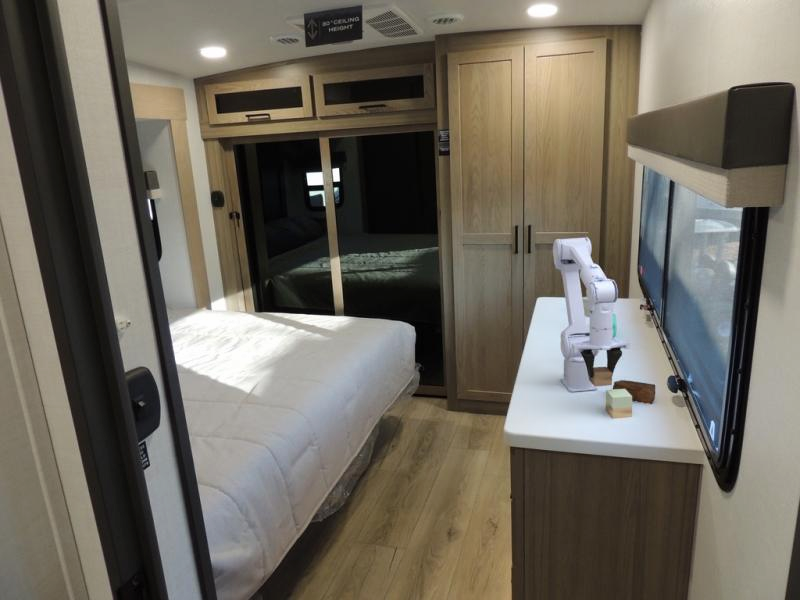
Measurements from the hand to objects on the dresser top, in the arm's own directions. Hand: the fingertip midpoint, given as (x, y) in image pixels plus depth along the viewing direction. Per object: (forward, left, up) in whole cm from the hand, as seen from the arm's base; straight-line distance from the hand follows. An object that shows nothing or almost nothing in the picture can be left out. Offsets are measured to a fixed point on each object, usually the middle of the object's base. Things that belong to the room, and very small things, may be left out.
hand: (600, 375), depth 155 cm
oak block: (+3, +4, -10) cm, 11 cm away
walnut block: (0, 0, -2) cm, 2 cm away
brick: (-6, +12, -10) cm, 17 cm away
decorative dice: (-60, +24, -10) cm, 65 cm away
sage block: (+3, +4, -7) cm, 9 cm away
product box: (-86, +29, -10) cm, 91 cm away
